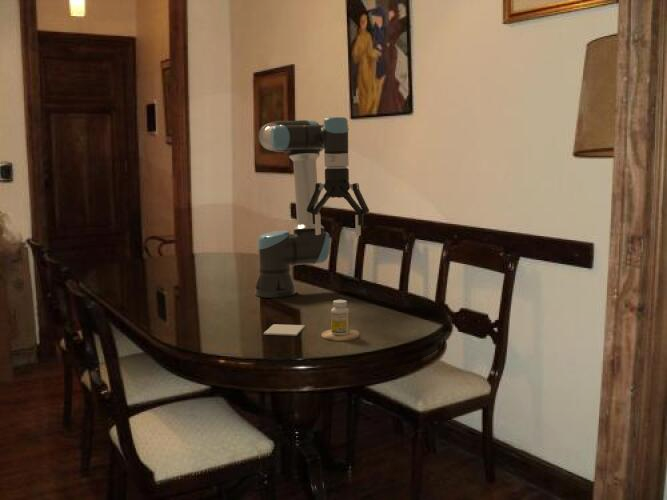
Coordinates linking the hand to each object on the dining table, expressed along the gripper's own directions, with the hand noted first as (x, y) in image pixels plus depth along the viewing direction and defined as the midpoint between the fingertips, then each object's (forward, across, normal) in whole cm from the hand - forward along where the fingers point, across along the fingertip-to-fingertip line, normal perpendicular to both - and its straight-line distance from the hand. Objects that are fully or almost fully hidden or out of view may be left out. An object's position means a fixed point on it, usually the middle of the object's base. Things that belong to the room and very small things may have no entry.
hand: (337, 235), depth 219 cm
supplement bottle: (+26, +8, -20) cm, 34 cm away
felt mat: (+27, -10, -20) cm, 35 cm away
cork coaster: (+27, +8, -20) cm, 34 cm away
